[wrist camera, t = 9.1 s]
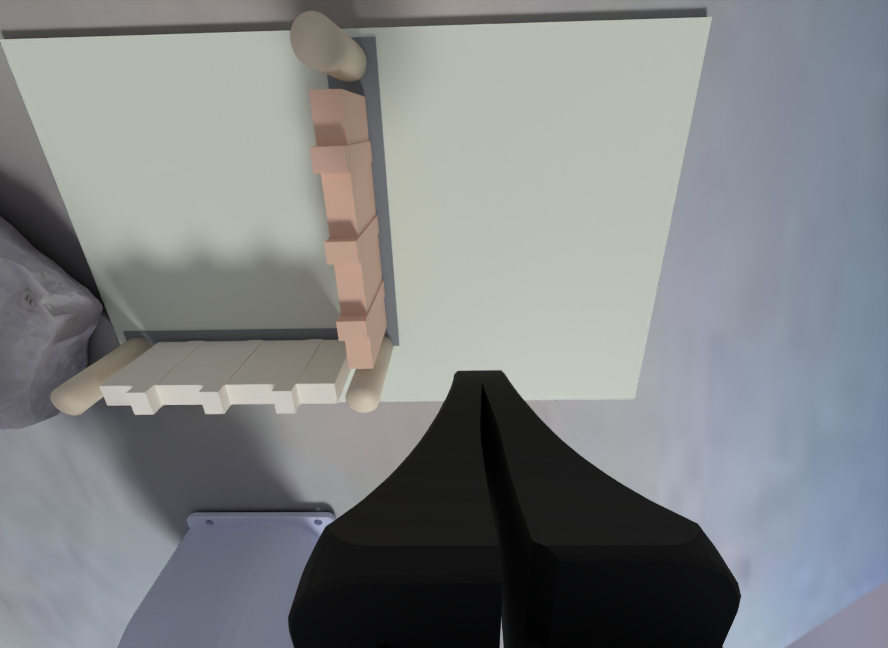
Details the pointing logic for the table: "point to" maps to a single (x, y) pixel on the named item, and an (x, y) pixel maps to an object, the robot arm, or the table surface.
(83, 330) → the stone block
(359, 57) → the fence panel
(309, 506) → the table surface
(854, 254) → the table surface
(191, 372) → the fence fixed
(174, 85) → the card
